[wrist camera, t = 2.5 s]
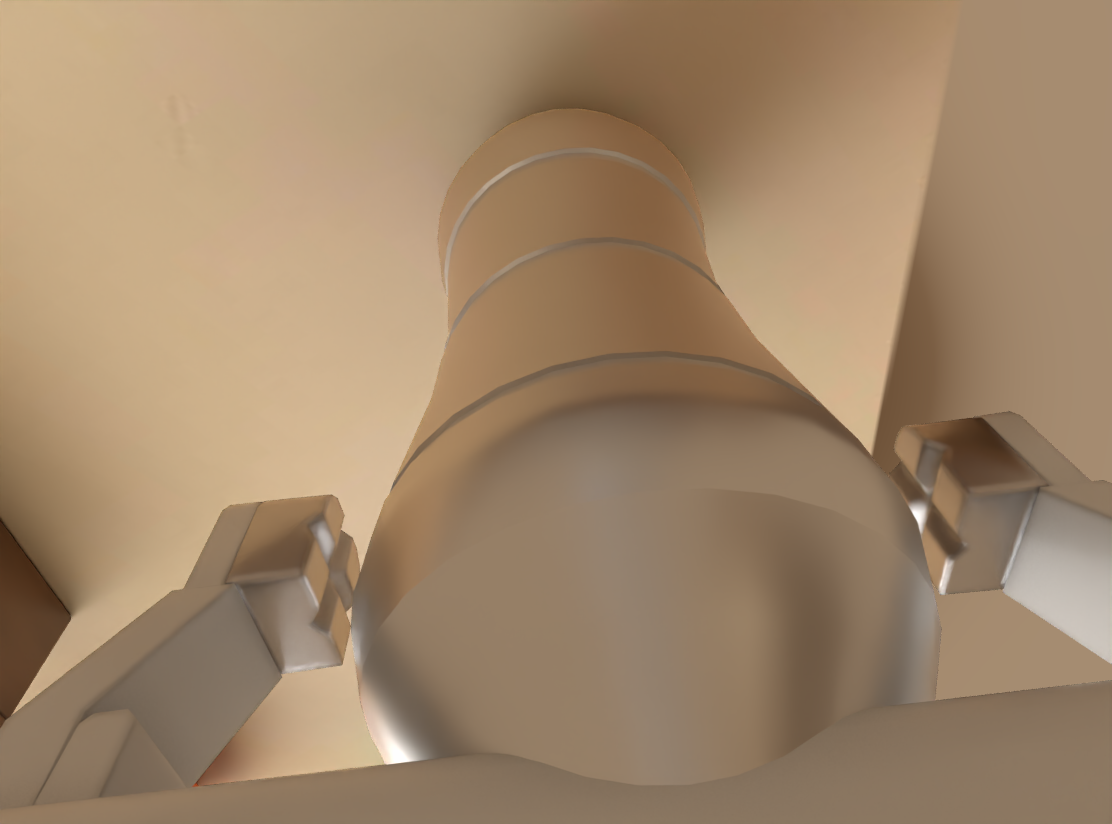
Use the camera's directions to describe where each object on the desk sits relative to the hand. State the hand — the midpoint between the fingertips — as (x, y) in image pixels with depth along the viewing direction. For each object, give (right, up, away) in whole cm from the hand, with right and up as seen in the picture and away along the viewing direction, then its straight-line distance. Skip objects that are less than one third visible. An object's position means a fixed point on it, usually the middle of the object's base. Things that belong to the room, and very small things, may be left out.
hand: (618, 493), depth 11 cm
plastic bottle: (-1, +7, +10) cm, 12 cm away
